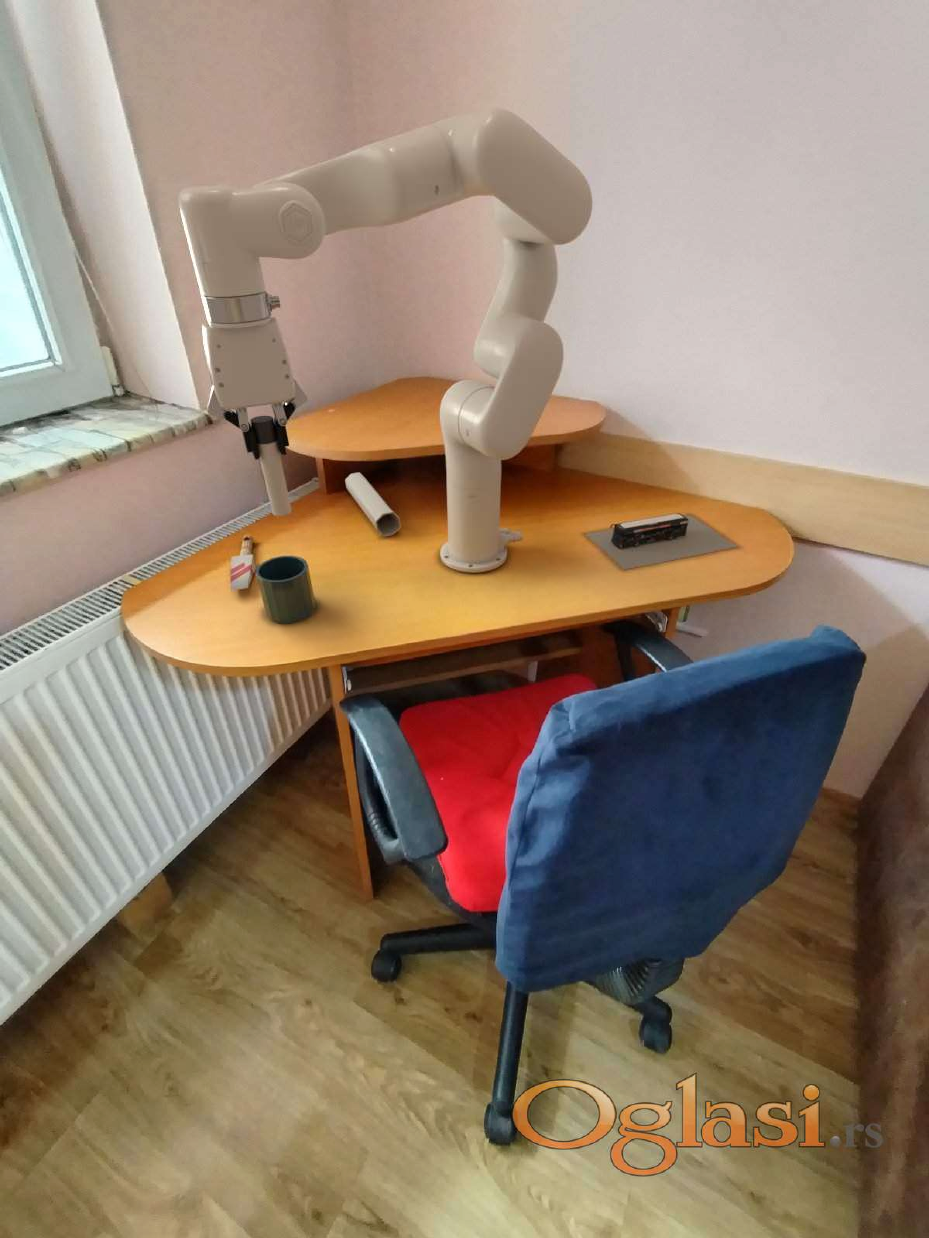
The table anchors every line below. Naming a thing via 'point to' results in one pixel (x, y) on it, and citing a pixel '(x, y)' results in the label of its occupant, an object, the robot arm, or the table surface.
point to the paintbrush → (243, 565)
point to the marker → (271, 464)
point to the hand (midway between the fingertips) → (269, 452)
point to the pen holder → (286, 589)
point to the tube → (373, 505)
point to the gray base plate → (658, 540)
